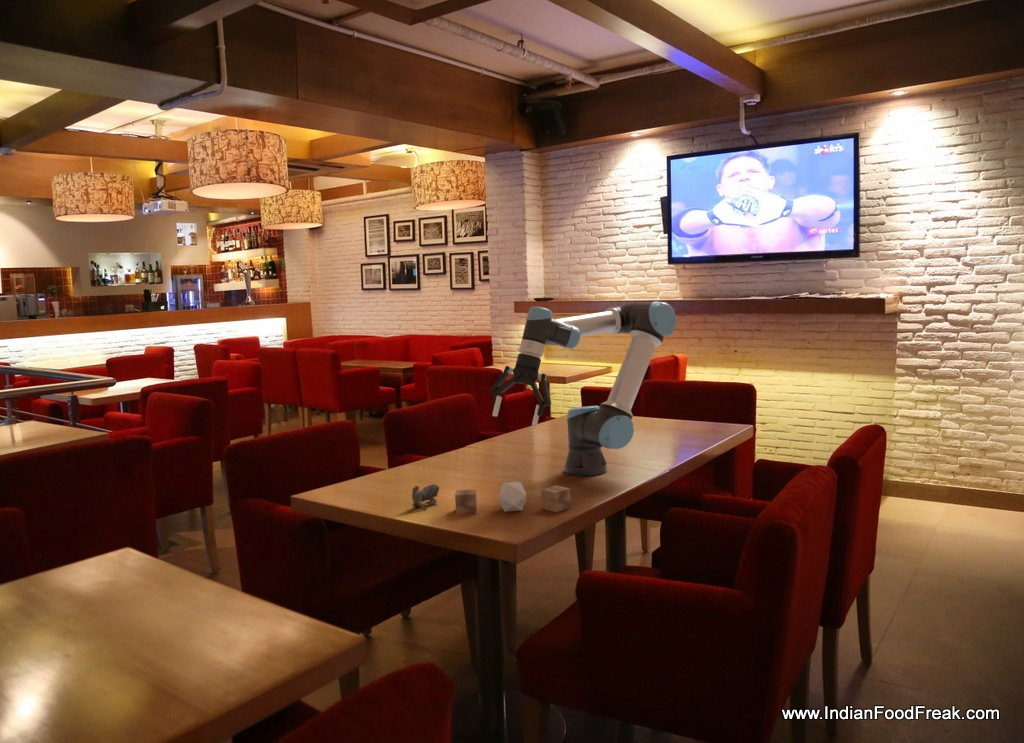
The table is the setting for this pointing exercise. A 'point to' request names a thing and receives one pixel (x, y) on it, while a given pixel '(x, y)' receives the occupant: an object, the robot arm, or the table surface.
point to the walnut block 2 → (556, 498)
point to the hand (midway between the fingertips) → (514, 421)
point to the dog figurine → (425, 495)
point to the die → (512, 496)
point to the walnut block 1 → (466, 502)
